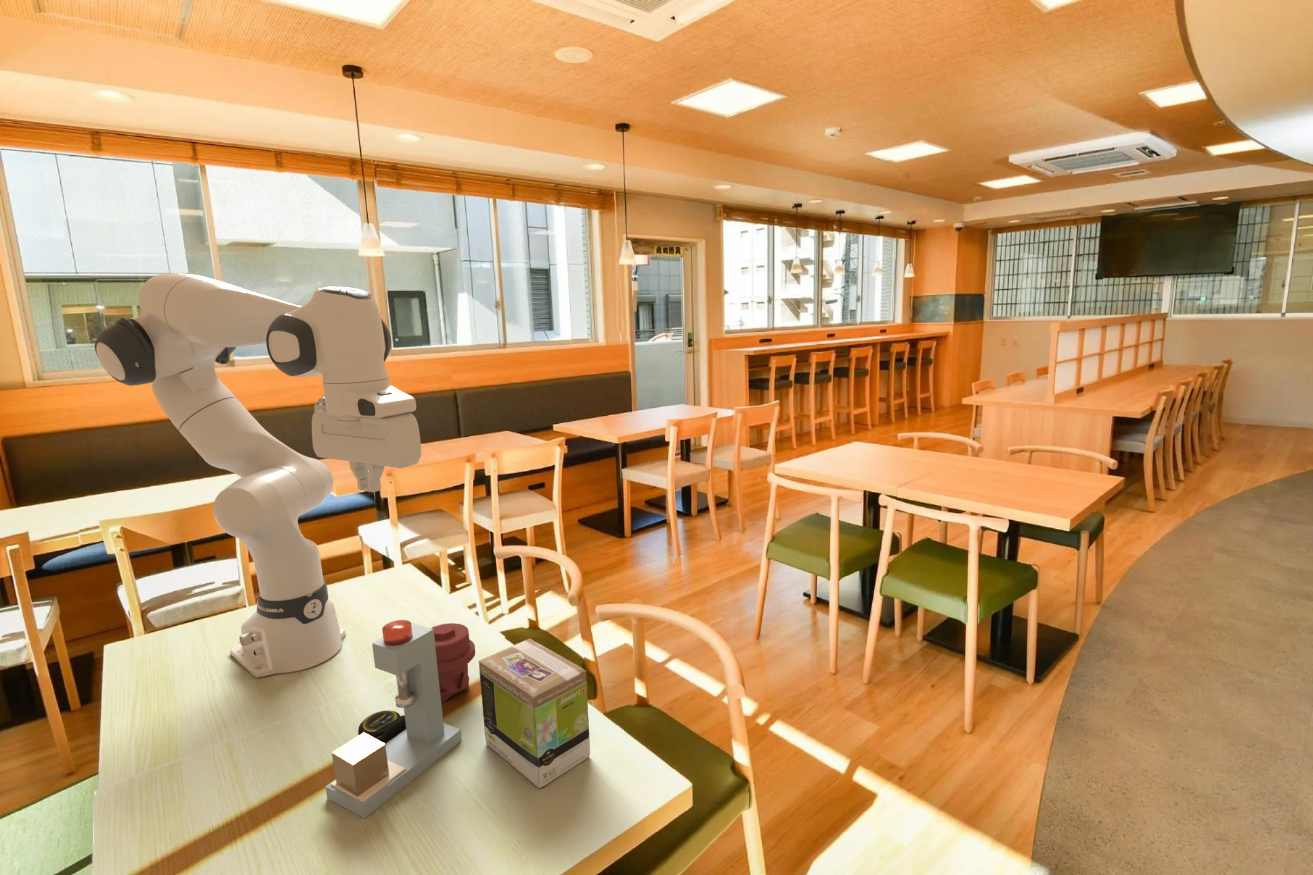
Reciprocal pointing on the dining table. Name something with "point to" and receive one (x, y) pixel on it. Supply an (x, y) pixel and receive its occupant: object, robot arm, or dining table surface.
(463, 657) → the mechanical component
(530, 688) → the tea box
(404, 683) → the button
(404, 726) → the tape measure
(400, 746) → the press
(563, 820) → the dining table surface
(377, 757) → the block
